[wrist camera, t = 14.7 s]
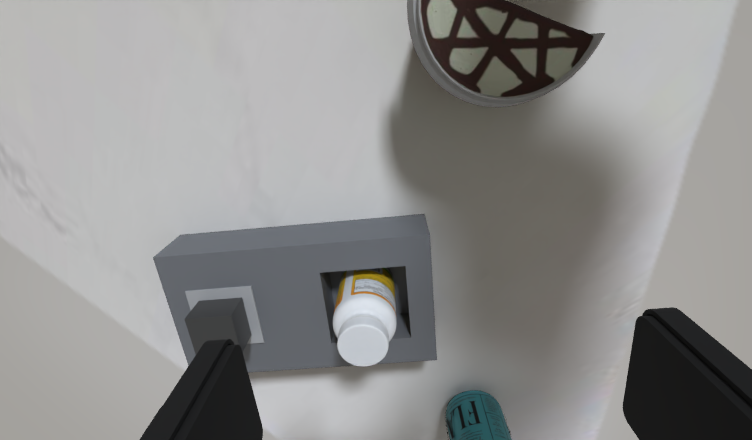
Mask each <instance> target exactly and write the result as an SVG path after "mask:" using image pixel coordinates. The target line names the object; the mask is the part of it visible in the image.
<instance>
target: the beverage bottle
mask: <svg viewBox="0 0 752 440" xmlns="http://www.w3.org/2000/svg"><path fill="white" fill-rule="evenodd" d="M445 413H446V418H445V419H446V420H445V423H446V422H447V426H448V432H449V437H450V440H512V439H511V436H510V431H509V428H508V427H507V424H506V422H505V419H504V416H503V413H502V410H501V407H500V405H499V403H498V402H497V401H496V399H495V398H494V397H493V396H491V395H490V394H488V393H485V392H482V391H466V392H462V393H460V394H458V395H456V396H455V397H454V398H453V399H452V400H451V401H450V402H449V404H448V406H447V410H446V412H445ZM504 415H505V414H504ZM447 426H446V427H447ZM448 432H447V435H448ZM448 440H449V439H448Z"/></svg>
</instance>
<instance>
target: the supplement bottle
mask: <svg viewBox="0 0 752 440" xmlns="http://www.w3.org/2000/svg"><path fill="white" fill-rule="evenodd" d="M396 322H397V321H396V304H395V286H394V279H393V276H392V274H391V272H390V271H389V270H388V269H387V268H374V269H361V270H348V271H344V272H343V274H342V276H341V279H340V284H339V290H338V295H337V300H336V305H335V309H334V315H333V330H334V332H335V335H336V337H337V338H338V341H337V347H338V351H339V354H340V355H341V357H342V358H343V359H344V360H345V361H347V362H348V363H350V364H352V365H355V366H362V367H364V366H371V365H374V364H376V363H378V362H380V361H381V360H382V359H383V358H384V357H385V356H386V354H387V351H388V347H389V341H390V340H391V339H392V337H393V336H394V334H395V331H396Z"/></svg>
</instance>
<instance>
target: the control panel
mask: <svg viewBox="0 0 752 440" xmlns="http://www.w3.org/2000/svg"><path fill="white" fill-rule="evenodd" d="M153 259H154V262H155V265H156V268H157V271H158V274H159V277H160V280H161V283H162V286H163V289H164V292H165V295H166V298H167V302H168V305H169V308H170V311H171V314H172V317H173V320H174V323H175V326H176V329H177V332H178V335H179V338H180V341H181V344H182V347H183V350H184V353H185V356H186V359H187V362H188V365H190V363H191V362H192V360H193V359H194V357H195V356H196V354H197V353H198V351H199V350H200V348H201V347H202V345H203V344H204V343H205V342H206V341H208V340H222V339H231V340H232V341H233V342H234V345H240V347H241V349H242V352H243V356H244V360H245V364H246V367H247V371H248V372H262V371H277V370H292V369H307V368H322V367H337V366H353V365H352V364H350V363H348V362H347V361H345V360H344V359H343V358H342V357H341V355H340V354H339V351H338V347H337V341H338V338H337V337H336V335H335V332H334V330H333V315H334V309H335V305H336V300H337V295H338V290H339V284H340V279H341V276H342V274H343V272H344V271H348V270H361V269H374V268H387V269H388V270H389V271H390V272H391V274H392V276H393V279H394V286H395V304H396V321H397V322H396V331H395V334H394V336H393V337H392V339H391V340H390V341H389V347H388V351H387V354H386V356H385V357H384V358H383V359H382V360H381V361H380V362H378V363H376V364H383V363H398V362H413V361H428V360H437V354H436V336H435V318H434V300H433V282H432V264H431V246H430V233H429V230H428V226H427V222H426V219H425V215H424V214H420V215H408V216H396V217H385V218H373V219H361V220H350V221H338V222H326V223H315V224H303V225H291V226H280V227H268V228H256V229H245V230H233V231H221V232H210V233H198V234H186V235H180V236H179V237H177V238H176V239H175V240H174V241H173V242H171V243H170V244H169V245H168V246H166V247H165V248H164V249H163V250H162V251H160V252H159V253H158V254H157V255H156V256H154V257H153Z"/></svg>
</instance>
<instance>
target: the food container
mask: <svg viewBox="0 0 752 440" xmlns="http://www.w3.org/2000/svg"><path fill="white" fill-rule="evenodd" d="M407 11H408V24H409V30H410V35H411V39H412V42H413V45H414V48H415V51H416V53H417V55H418V57H419V59H420V61H421V63H422V65H423V66H424V68H425V69H426V70H427V72H428V73H429V75H430V76H431V77H432V78H433V79H434V80H435V81H436V82H437V83H438V84H439V85H440V86H441V87H442V88H443V89H444V90H446V91H447V92H449V93H450V94H452V95H453V96H455V97H457V98H459V99H461V100H464V101H466V102H468V103H472V104H476V105H480V106H488V107H504V106H513V105H517V104H521V103H525V102H528V101H530V100H533V99H535V98H538V97H540V96H543V95H545V94H547V93H549V92H550V91H552V90H554V89H556V88H557V87H559V86H560V85H562V84H563V83H564V82H566V81H567V80H568V79H570V78H571V77H572V76H573V75H574V74H575V73H576V72H577V71H578V70H579V69H580V68H581V67H582V66H583V65H584V64H585V63H586V61H587V60H588V59H589V57H590V56H591V55H592V54H593V52H594V51H595V49H596V48H597V46H598V45H599V43H600V41H601V40H602V38H603V36H604V34H605V33H597V34H588V33H586V32H584V31H582V30H577V29H574V28H571V27H569V26H566V25H564V24H561V23H559V22H556V21H554V20H551V19H549V18H546V17H544V16H541V15H539V14H537V13H534V12H532V11H530V10H527V9H525V8H523V7H520V6H518V5H516V4H513V3H511V2H508V1H505V0H407Z"/></svg>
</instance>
